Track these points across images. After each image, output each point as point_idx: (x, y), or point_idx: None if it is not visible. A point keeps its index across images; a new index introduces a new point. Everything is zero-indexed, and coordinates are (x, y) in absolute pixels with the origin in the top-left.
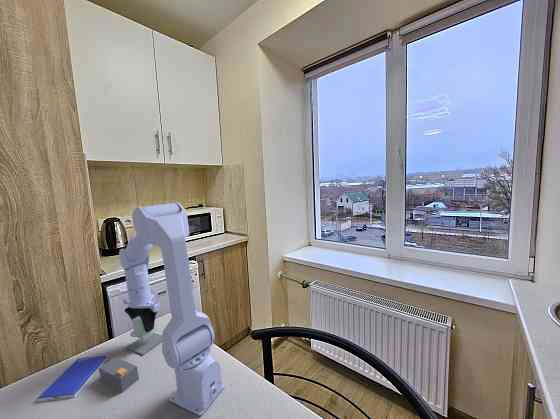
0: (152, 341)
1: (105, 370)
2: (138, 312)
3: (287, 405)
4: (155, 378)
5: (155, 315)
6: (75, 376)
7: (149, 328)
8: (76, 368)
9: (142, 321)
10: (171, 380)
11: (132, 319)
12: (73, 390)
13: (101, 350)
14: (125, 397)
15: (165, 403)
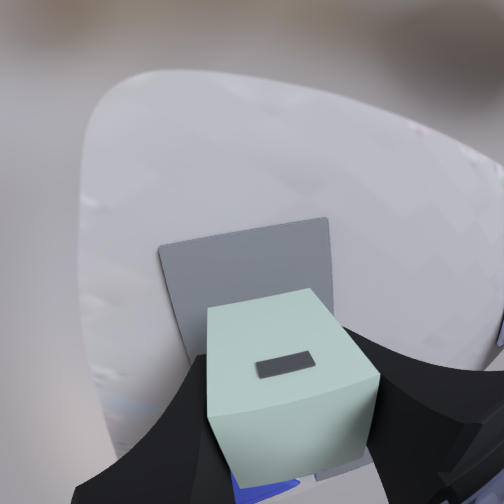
0: (283, 290)
1: (350, 470)
2: (221, 487)
3: None
4: (447, 350)
5: (435, 371)
6: (232, 484)
7: None
8: None
9: (371, 452)
10: (481, 322)
11: (241, 488)
12: (289, 485)
13: (120, 419)
14: None
15: (491, 350)
